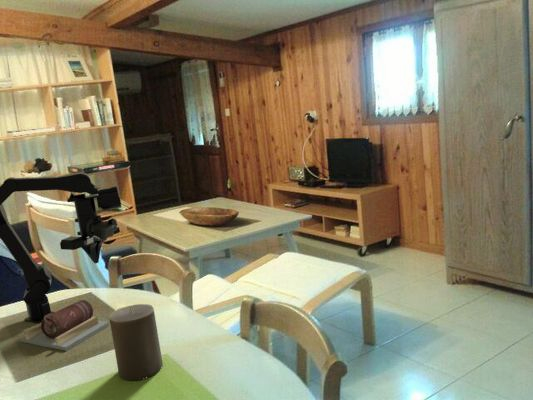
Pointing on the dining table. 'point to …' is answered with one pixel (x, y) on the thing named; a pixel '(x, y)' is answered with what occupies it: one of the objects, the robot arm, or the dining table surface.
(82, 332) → the tray
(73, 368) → the dining table surface
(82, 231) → the robot arm
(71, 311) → the can
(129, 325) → the pillar candle
